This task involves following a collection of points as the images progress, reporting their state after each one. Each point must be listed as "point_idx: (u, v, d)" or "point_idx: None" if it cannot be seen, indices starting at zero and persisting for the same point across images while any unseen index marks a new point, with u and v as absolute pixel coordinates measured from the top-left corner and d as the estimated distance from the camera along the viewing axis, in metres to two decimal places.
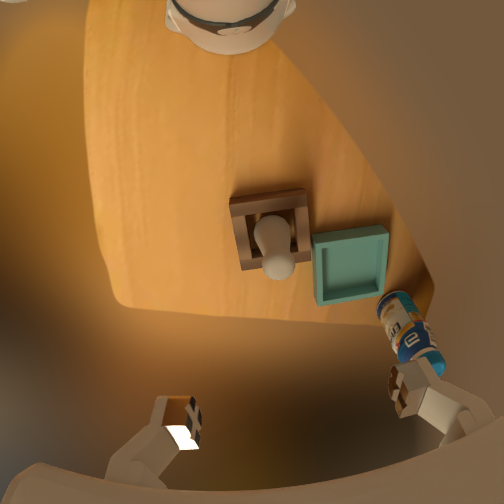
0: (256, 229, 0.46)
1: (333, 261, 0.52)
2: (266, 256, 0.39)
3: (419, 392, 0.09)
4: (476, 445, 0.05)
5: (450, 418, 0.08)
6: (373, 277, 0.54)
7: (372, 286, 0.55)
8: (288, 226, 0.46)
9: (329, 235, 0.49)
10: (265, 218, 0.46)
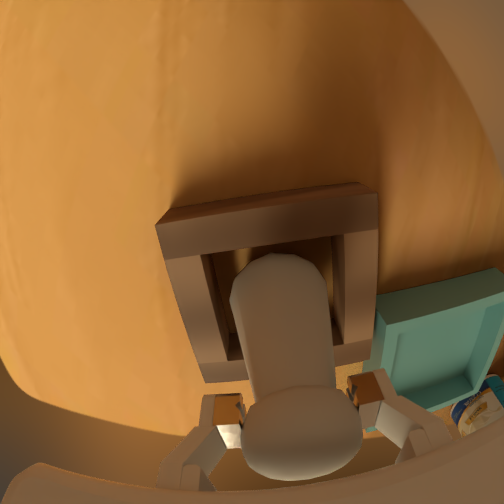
0: (235, 294, 0.16)
1: (408, 350, 0.22)
2: (256, 426, 0.08)
3: (372, 406, 0.09)
4: (476, 445, 0.05)
5: (406, 435, 0.08)
6: (465, 365, 0.23)
7: (461, 380, 0.23)
8: (324, 285, 0.16)
9: (411, 299, 0.19)
10: (260, 263, 0.16)
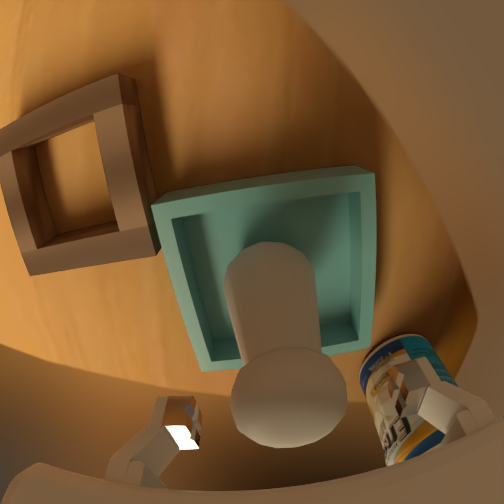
0: (228, 278, 0.18)
1: None
2: (245, 383, 0.09)
3: (419, 392, 0.09)
4: (476, 445, 0.05)
5: (450, 418, 0.08)
6: (346, 306, 0.23)
7: (344, 327, 0.22)
8: (312, 271, 0.18)
9: (204, 188, 0.18)
10: (253, 249, 0.18)
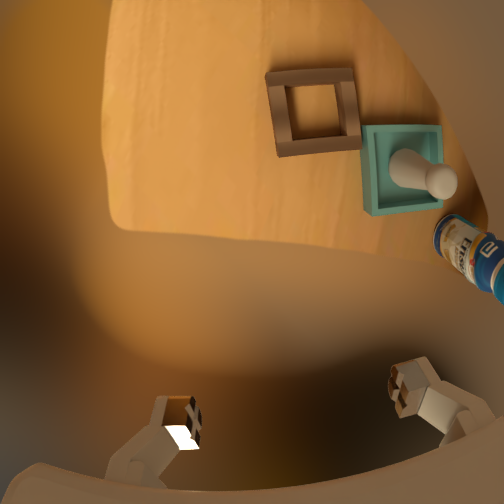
0: (395, 159, 0.37)
1: (385, 161, 0.40)
2: (434, 169, 0.29)
3: (419, 392, 0.09)
4: (476, 445, 0.05)
5: (450, 418, 0.08)
6: None
7: (429, 199, 0.42)
8: None
9: None
10: (402, 150, 0.37)
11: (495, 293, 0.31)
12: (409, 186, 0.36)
